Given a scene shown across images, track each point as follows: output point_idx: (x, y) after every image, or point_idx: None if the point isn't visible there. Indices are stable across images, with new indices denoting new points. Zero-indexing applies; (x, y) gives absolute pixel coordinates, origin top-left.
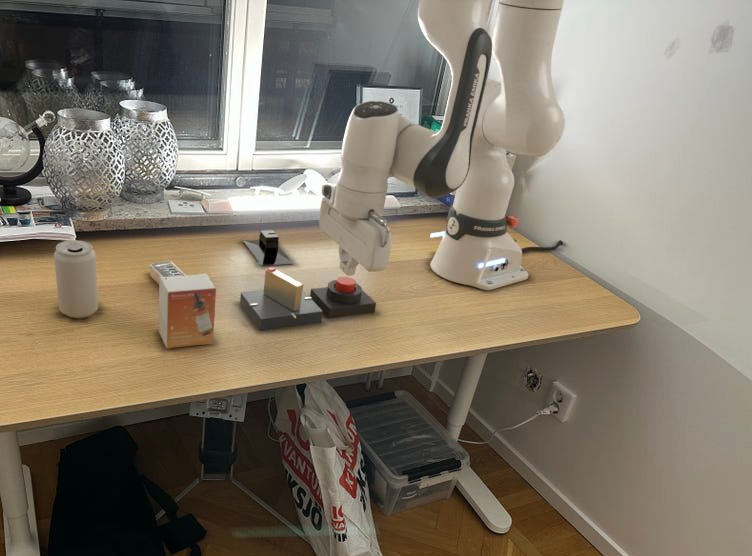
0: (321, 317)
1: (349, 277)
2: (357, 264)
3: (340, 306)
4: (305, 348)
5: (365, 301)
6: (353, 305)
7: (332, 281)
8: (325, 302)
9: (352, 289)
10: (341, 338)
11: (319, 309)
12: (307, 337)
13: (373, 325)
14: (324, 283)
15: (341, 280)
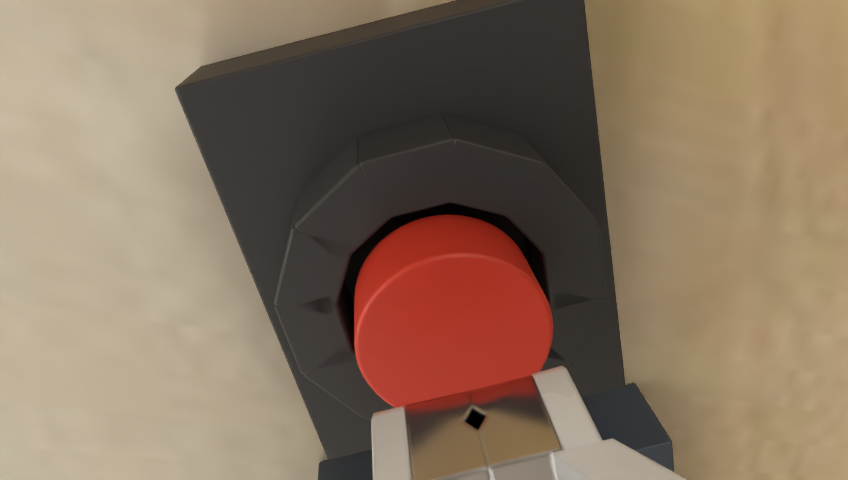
0: (653, 412)
1: (378, 297)
2: (667, 477)
3: (606, 316)
4: (842, 474)
5: (547, 91)
6: (602, 216)
7: (330, 384)
8: None
9: (526, 261)
10: (817, 302)
11: (646, 456)
12: (754, 457)
13: (729, 47)
14: (51, 276)
15: (451, 383)
